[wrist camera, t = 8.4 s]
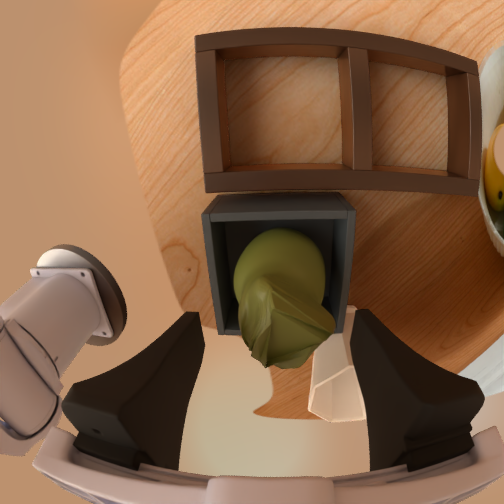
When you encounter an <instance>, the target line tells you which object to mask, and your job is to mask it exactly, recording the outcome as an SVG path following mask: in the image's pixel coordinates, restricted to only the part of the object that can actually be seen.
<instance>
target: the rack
mask: <svg viewBox="0 0 504 504" xmlns="http://www.w3.org/2000/svg"><path fill="white" fill-rule="evenodd" d="M195 52H196V53H195V62H196V81H197V98H198V113H199V126H200V139H201V151H202V162H203V173H204V184H205V192H206V193H218V192H237V191H262V190H315V189H330V190H382V191H405V192H423V193H438V194H451V195H463V196H474V197H478V191H479V180H480V170H481V153H482V109H481V92H480V81H479V77H478V76H479V73H478V65H477V61H474V60H472V59H469V58H466V57H464V56H461V55H458V54H455V53H452V52H449V51H446V50H442V49H439V48H436V47H432V46H429V45H425V44H421V43H417V42H413V41H409V40H404V39H400V38H395V37H390V36H384V35H378V34H372V33H365V32H358V31H349V30H339V29H327V28H305V27H277V28H255V29H242V30H232V31H223V32H215V33H208V34H202V35H196V36H195ZM282 56H305V57H331V58H338V70H339V83H340V99H341V123H342V164H328V163H295V164H258V165H238V166H231V158H230V144H229V130H228V115H227V99H226V83H225V67H224V60H232V59H243V58H257V57H282ZM368 61H372V62H379V63H386V64H392V65H398V66H403V67H408V68H413V69H418V70H422V71H427V72H431V73H435V74H439V75H443V76H446V85H447V99H448V163H447V171H442V170H432V169H422V168H411V167H399V166H384V165H372V107H371V88H370V75H369V63H368Z"/></svg>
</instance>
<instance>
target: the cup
mask: <svg viewBox="0 0 504 504" xmlns="http://www.w3.org/2000/svg"><path fill="white" fill-rule="evenodd" d="M355 310H358V309H357V308H356V307H355V306H354V305H347V310H346V316H345V323H344V329H343V333H339V334H332V335H331V336H330V337H329V338H328V339H327V340H326V341H324V342H323V343H322V344H321V345H320V346H319V347H318V348H317V349H316V350H315V351H314V357H313V365H312V377H311V387H310V395H309V404H308V411H310V412H312V413H314V414H315V415H317V416H319V417H321V418H322V419H324V420H326V421H328V422H330V423H333V422H347V421H358V420H365V419H367V418H366V411H365V405H364V400H363V396H362V393H361V389H360V386H359V382H358V379H357V375H356V372H355V369H354V365H353V362H352V356H351V350H350V338H351V333H352V327H353V322H354V316H355Z"/></svg>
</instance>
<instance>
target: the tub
mask: <svg viewBox="0 0 504 504" xmlns="http://www.w3.org/2000/svg"><path fill="white" fill-rule="evenodd" d="M201 217H202V225H203V234H204V241H205V249H206V257H207V264H208V271H209V278H210V285H211V292H212V299H213V305H214V312H215V318H216V324H217V330H218V335H241V331H240V327H239V320H238V311H239V303H238V300H237V297H236V294H235V290H234V273H235V268H236V265H237V263H238V260H239V258H240V256H241V254H242V253H243V251H244V250H245V248H246V247H247V246H248V244H249V243H250V242H251V241H252V240H253V239H254V238H255V237H257V236H258V235H259V234H261V233H262V232H264V231H266V230H269V229H272V228H278V227H285V228H291V229H294V230H297V231H299V232H301V233H303V234H305V235H306V236H307V237H309V238H310V239H311V240H312V241H313V242H314V243H315V244H316V245H317V247H318V248H319V250H320V252H321V254H322V256H323V259H324V263H325V276H326V278H325V290H324V296H323V300H322V303H321V306H323V307H324V308H325V309H326V310H327V311H328V312H329V313H330V314H331V315H332V316H333V318H334V320H335V324H336V327H335V330H334V334H339V333H343V329H344V323H345V316H346V310H347V303H348V295H349V287H350V279H351V270H352V261H353V250H354V238H355V225H356V210H355V209H354V208H353V207H352V206H351V204H350V203H349V202H348V201H347V200H346V199H345V198H344V197H343V196H342V195H341V194H340V193H339V192H293V193H255V194H232V195H217V196H216V197H215V199H214V200H213V201H212V202H211V203H210V204H209V206H208V207H207V208H206V209H205V210H204V212H203V213H202V214H201Z"/></svg>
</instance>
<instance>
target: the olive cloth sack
mask: <svg viewBox="0 0 504 504" xmlns="http://www.w3.org/2000/svg"><path fill="white" fill-rule="evenodd" d="M325 278H326V276H325V263H324V259H323V256H322V254H321V252H320V250H319V248H318V247H317V245H316V244H315V243H314V242H313V241H312V240H311V239H310V238H309V237H307V236H306V235H305V234H303V233H301V232H299V231H297V230H294V229H291V228H285V227H278V228H272V229H269V230H266V231H264V232H262V233H261V234H259V235H258V236H257V237H255V238H254V239H253V240H252V241H251V242H250V243H249V244H248V246H247V247H246V248H245V250H244V251H243V253H242V254H241V256H240V258H239V260H238V263H237V265H236V268H235V273H234V290H235V294H236V297H237V300H238V303H239V311H238V320H239V327H240V331H241V335H242V338H243V340H244V342H245V344H246V345H247V347H249V350H250V351H252V354H251V356H252V357H253V358H255V359H256V360H258V361H260V362H261V363H262V365H263V366H264V367H265V368H267V367H270V366H271V365H275V366H277V367H279V368H281V369H290V368H293V369H294V368H299V367H300V366H301V365H303V364H304V363H305V362H306V360H307V359H308V358H309V357H310V355H311V354H312V353H313V352H314V351H315V350H316V349H317V348H318V347H319V346H320V345H321V344H322V343H323V342H324V341H326V340H327V339H328V338H329V337H330V336H331V335H332V334H334V330H335V327H336V324H335V320H334V318H333V316H332V315H331V314H330V313H329V312H328V311H327V310H326V309H325V308H324V307H323V306H321V303H322V300H323V296H324V290H325Z"/></svg>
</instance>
